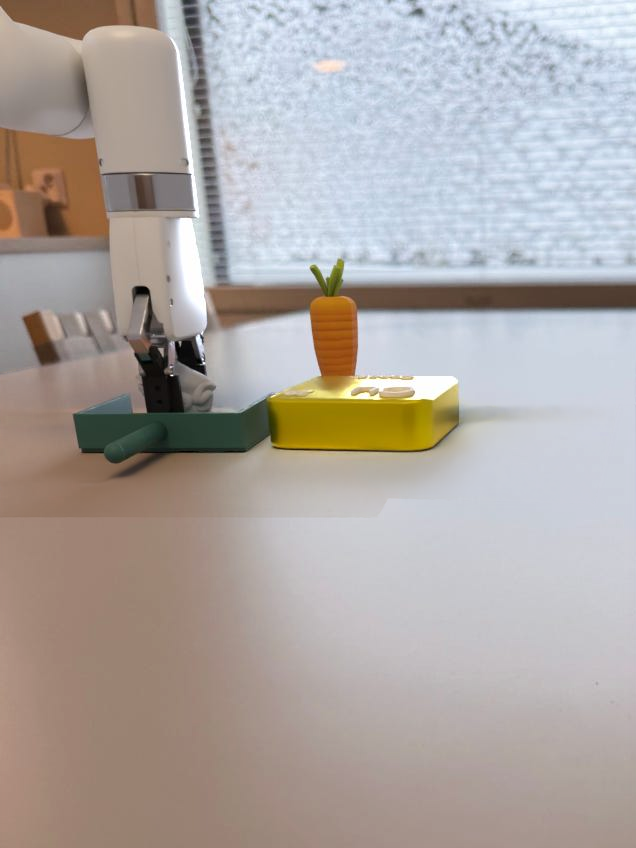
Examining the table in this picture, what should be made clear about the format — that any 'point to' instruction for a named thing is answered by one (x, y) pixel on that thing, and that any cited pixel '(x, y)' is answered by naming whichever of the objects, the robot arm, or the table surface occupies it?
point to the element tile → (364, 413)
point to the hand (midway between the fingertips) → (180, 413)
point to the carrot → (334, 326)
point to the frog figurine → (192, 389)
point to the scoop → (167, 429)
